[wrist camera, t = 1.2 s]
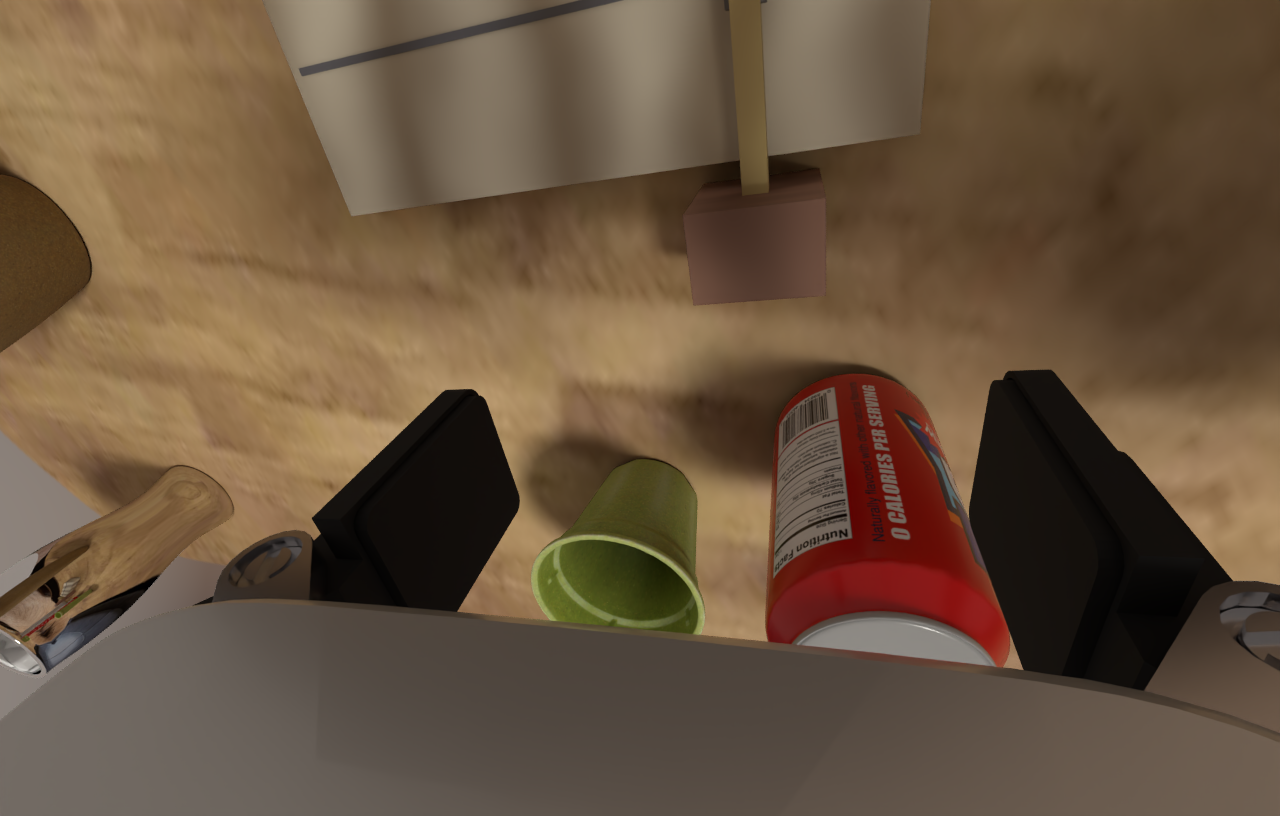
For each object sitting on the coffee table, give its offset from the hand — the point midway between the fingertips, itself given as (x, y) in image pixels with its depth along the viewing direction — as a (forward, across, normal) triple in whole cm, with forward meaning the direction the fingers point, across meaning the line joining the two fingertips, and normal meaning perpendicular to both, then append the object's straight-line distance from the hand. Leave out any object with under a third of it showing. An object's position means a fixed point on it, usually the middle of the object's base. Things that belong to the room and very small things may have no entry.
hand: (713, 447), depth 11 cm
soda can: (+18, -4, +12) cm, 22 cm away
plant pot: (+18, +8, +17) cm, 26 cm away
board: (+18, +7, -7) cm, 21 cm away
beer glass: (+18, +48, +18) cm, 54 cm away
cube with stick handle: (+18, 0, -4) cm, 19 cm away
